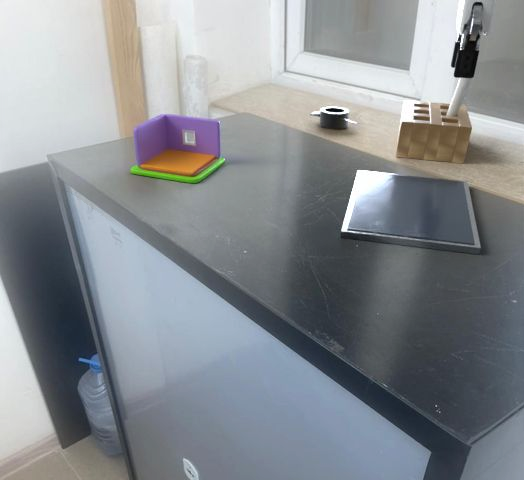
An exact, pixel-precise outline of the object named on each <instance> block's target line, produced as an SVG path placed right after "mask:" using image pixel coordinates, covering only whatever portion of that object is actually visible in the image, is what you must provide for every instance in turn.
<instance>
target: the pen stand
mask: <svg viewBox="0 0 524 480" xmlns="http://www.w3.org/2000/svg"><path fill="white" fill-rule="evenodd" d="M450 104H451V103H444V102H443V103H442V102H432V101H431V102H430V101H418V100H405V99H404V100H403V102H402V109H401V114H400V121H399V127H398V132H397V142H396V150H395V158H404V159H412V160H413V159H414V160H424V161H433V162H435V161H436V162H443V163H444V162H445V163H456V164H464V163H465V158H466V154H467V151H468V146H469V142H470V138H471V134H472V130H473V126H472V122H471V118H470V116H469V112H468V109H467V105H466V104H461V106H460V109H459V112H458V114H457V116H446V115H447V112H448V109H449V106H450Z"/></svg>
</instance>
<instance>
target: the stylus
mask: <svg viewBox="0 0 524 480" xmlns="http://www.w3.org/2000/svg"><path fill="white" fill-rule="evenodd" d="M471 80H472V78H458V82H457V84H456V87H455V90H454V93H453V95H452V98H451V101H450V103H449V104H450V106H449V109H448V112H447V115H446V116H457V114H458V112H459V109H460V106H461V105H463V104H462V103H463V101H464V98H465V95H466V93H467V90H468V87H469V85H470V82H471Z"/></svg>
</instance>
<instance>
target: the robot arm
mask: <svg viewBox="0 0 524 480" xmlns="http://www.w3.org/2000/svg"><path fill="white" fill-rule="evenodd" d="M496 4H497V0H458V6H457V8H458V9H457V15H456V27H455V28H456V31H457V35H456V41H455V42H454V45H453V50H452V51H453V52H452V57H451V62H450V66H451V68H452V69H453V77H454V78H455V79H456V78H458V79H460V78H471V79H473V78H474V77H475V73H476V70H477V64H478V59H479V54H480V46H481V38H482V34H483V36H489V35H490V34H491V31H492V25H493V20H494V14H495V9H496Z"/></svg>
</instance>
